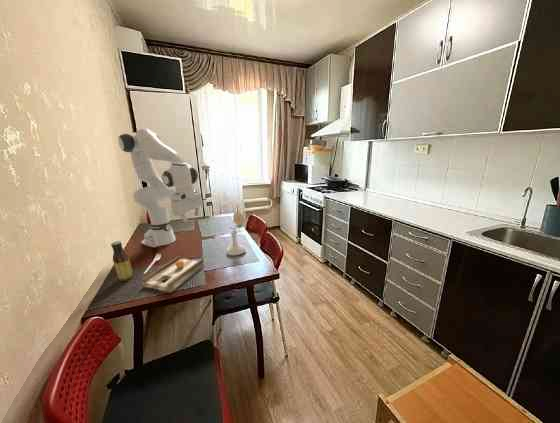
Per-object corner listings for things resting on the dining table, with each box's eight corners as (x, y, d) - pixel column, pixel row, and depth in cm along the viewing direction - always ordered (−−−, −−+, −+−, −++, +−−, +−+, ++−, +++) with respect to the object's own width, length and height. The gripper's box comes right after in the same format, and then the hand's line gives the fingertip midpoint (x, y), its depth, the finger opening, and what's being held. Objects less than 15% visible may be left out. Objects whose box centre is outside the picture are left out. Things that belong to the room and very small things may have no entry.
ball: (174, 268, 119) (173, 261, 118) (180, 264, 122) (178, 258, 121) (180, 269, 118) (179, 262, 116) (186, 265, 121) (185, 259, 120)
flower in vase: (229, 259, 132) (224, 217, 124) (224, 251, 141) (219, 212, 134) (250, 253, 137) (247, 213, 130) (244, 246, 147) (240, 208, 140)
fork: (141, 275, 120) (140, 272, 120) (156, 256, 139) (156, 253, 139) (147, 274, 120) (146, 271, 120) (162, 256, 139) (161, 253, 139)
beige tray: (143, 286, 109) (141, 279, 108) (180, 262, 130) (178, 255, 129) (170, 292, 104) (168, 284, 103) (203, 265, 125) (202, 259, 124)
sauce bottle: (123, 275, 119) (113, 240, 114) (135, 274, 120) (127, 239, 114) (115, 282, 113) (105, 245, 107) (129, 281, 114) (119, 244, 108)
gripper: (193, 189, 132) (198, 212, 136) (166, 198, 114) (173, 224, 118) (202, 188, 130) (207, 212, 134) (176, 198, 112) (183, 224, 116)
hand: (191, 218), depth 126 cm, fingers open, 8 cm apart
